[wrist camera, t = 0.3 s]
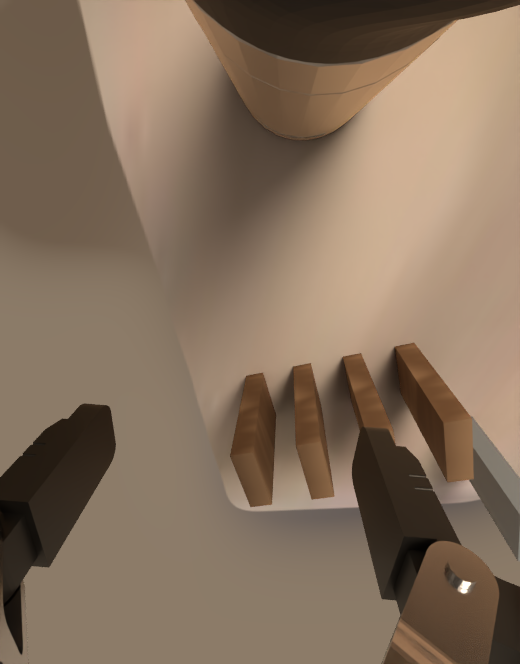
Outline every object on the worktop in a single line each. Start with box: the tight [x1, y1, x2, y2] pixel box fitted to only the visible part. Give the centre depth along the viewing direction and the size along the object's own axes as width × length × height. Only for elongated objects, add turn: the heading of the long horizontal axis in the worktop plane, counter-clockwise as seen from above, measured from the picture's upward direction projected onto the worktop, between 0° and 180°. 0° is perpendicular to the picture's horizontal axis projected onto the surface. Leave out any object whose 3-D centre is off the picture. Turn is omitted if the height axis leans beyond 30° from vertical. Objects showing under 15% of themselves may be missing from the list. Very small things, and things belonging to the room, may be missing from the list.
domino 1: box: [230, 373, 276, 507], centre depth 28 cm, size 2×5×10 cm, turn 16°
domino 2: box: [293, 363, 334, 499], centre depth 27 cm, size 2×5×10 cm, turn 15°
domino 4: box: [395, 343, 474, 482], centre depth 26 cm, size 2×5×10 cm, turn 16°
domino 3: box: [343, 353, 395, 443], centre depth 26 cm, size 2×5×10 cm, turn 15°
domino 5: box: [469, 417, 520, 561], centre depth 28 cm, size 2×5×10 cm, turn 16°
